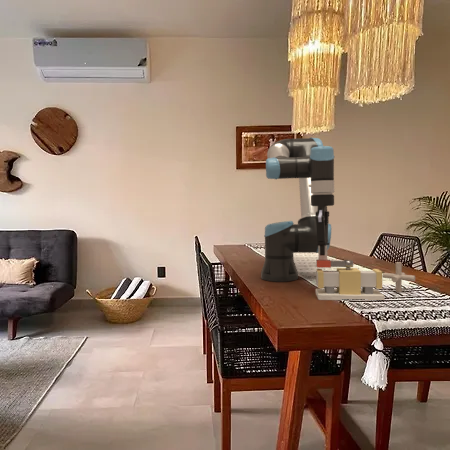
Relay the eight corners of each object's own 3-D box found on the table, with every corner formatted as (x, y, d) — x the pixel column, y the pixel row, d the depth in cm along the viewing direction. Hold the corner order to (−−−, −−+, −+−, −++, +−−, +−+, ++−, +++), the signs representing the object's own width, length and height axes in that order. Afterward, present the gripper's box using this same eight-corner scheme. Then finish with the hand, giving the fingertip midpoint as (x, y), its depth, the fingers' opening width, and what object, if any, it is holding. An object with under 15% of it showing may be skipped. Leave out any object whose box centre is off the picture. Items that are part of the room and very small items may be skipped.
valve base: (315, 293, 129) (315, 265, 128) (376, 293, 126) (376, 265, 125) (318, 299, 120) (318, 269, 119) (384, 300, 117) (384, 270, 117)
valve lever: (316, 267, 123) (316, 260, 123) (316, 266, 126) (316, 259, 126) (353, 267, 121) (353, 261, 120) (352, 266, 124) (352, 259, 123)
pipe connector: (387, 287, 135) (387, 259, 135) (418, 290, 129) (418, 261, 128) (378, 292, 128) (378, 263, 127) (410, 296, 121) (410, 265, 121)
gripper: (314, 194, 132) (314, 261, 133) (307, 194, 120) (308, 267, 121) (336, 193, 129) (336, 262, 130) (331, 193, 117) (332, 268, 118)
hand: (322, 264), depth 126 cm, fingers closed
